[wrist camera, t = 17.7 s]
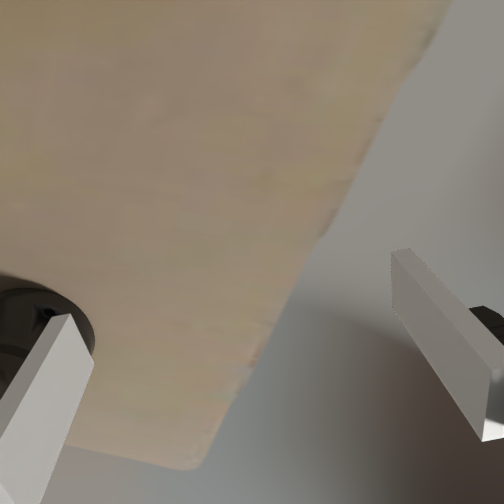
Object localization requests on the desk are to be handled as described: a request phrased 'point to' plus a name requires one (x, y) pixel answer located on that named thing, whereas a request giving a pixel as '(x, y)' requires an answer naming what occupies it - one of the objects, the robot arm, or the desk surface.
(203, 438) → the desk surface
